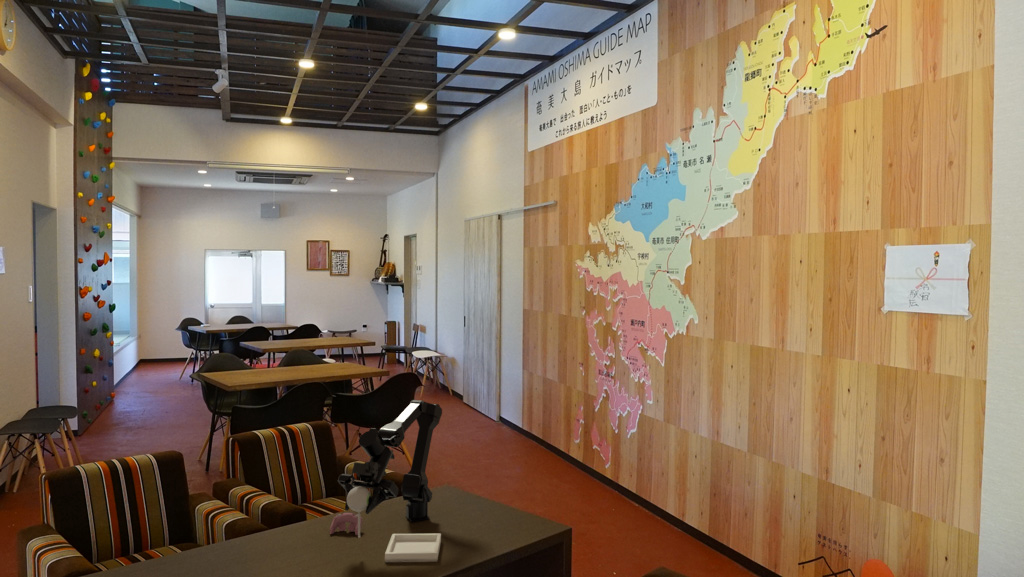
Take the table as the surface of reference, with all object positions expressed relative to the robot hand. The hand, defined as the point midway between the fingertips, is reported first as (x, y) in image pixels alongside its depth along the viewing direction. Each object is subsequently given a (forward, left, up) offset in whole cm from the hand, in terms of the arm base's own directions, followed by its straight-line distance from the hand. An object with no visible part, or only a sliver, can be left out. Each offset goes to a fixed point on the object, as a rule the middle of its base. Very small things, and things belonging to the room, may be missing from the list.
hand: (356, 511), depth 196 cm
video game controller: (-3, -20, -14) cm, 25 cm away
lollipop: (-1, -1, -8) cm, 8 cm away
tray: (-16, +5, -13) cm, 21 cm away
